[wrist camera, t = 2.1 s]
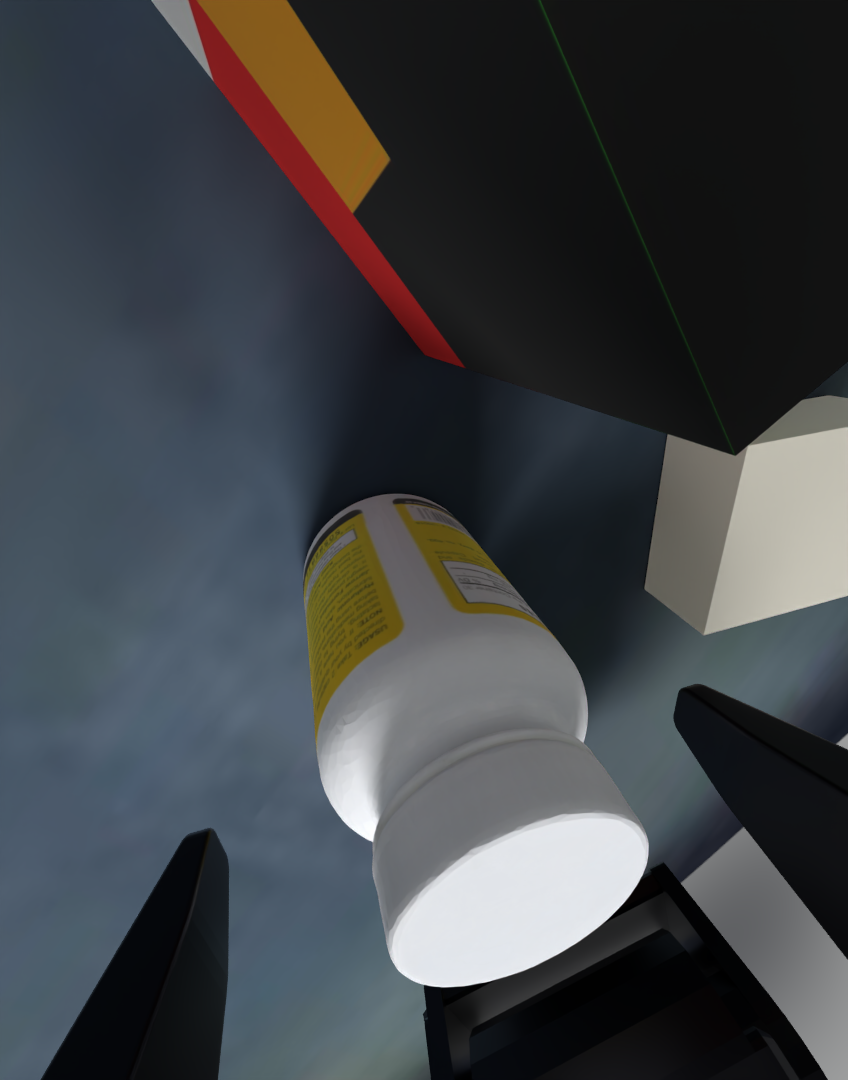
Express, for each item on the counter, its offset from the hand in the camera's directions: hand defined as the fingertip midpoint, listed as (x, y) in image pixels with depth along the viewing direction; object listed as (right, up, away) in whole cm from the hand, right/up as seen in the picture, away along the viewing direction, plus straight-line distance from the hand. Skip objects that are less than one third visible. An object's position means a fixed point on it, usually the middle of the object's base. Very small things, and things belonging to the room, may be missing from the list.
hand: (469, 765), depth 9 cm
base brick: (+11, +6, +9) cm, 15 cm away
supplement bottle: (-2, +3, +6) cm, 8 cm away
